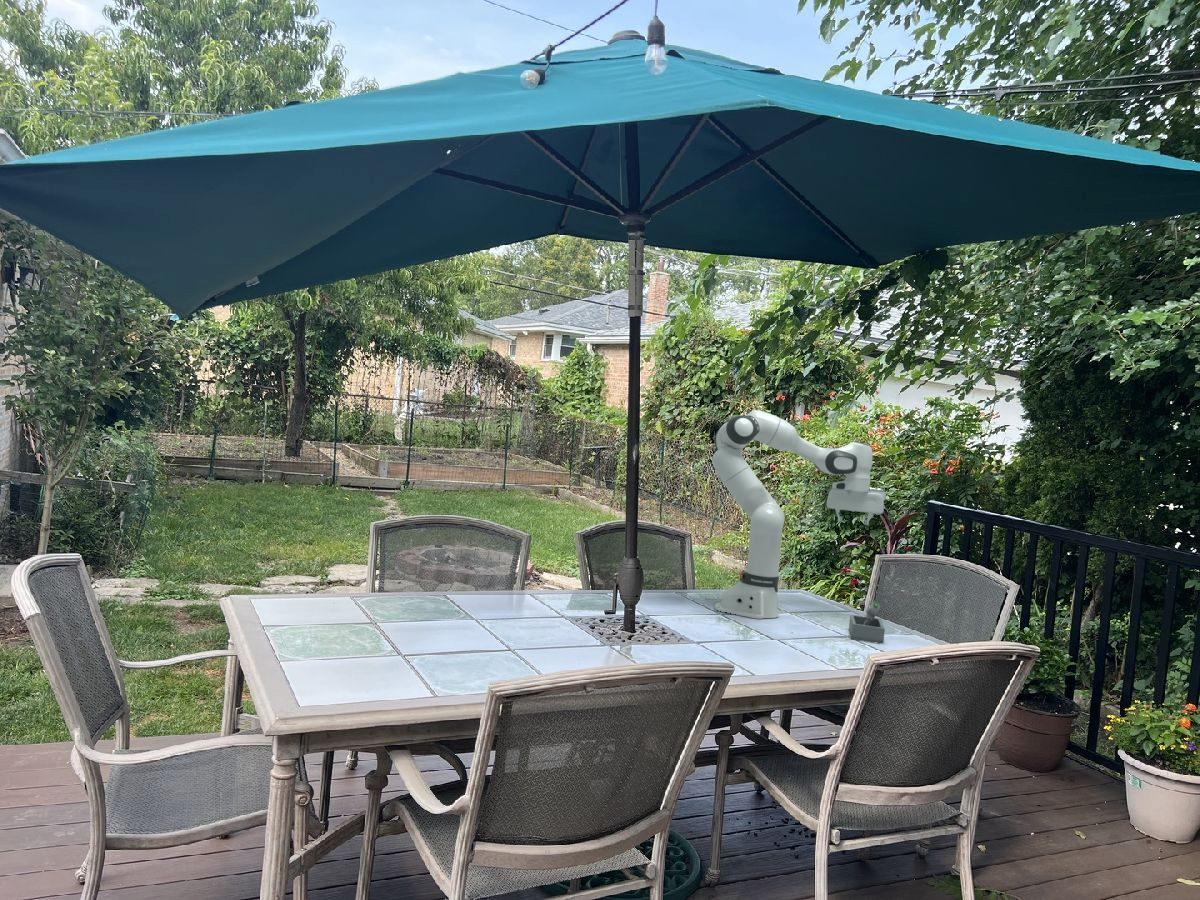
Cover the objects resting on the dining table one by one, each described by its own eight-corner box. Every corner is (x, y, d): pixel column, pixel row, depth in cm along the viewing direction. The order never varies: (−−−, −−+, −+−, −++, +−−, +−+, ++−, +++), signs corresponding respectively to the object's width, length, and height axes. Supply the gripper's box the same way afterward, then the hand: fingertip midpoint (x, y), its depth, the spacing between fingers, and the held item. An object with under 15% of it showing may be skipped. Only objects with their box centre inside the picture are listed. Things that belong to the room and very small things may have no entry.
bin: (851, 639, 276) (852, 624, 276) (848, 629, 291) (850, 614, 291) (883, 644, 274) (884, 628, 274) (879, 633, 289) (880, 619, 288)
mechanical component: (859, 625, 279) (873, 599, 282) (856, 632, 288) (869, 607, 291) (868, 630, 278) (881, 604, 281) (865, 636, 287) (878, 611, 290)
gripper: (885, 488, 313) (881, 525, 313) (828, 482, 318) (824, 519, 318) (887, 489, 307) (883, 527, 307) (829, 483, 311) (825, 520, 312)
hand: (853, 523), depth 313 cm, fingers open, 8 cm apart
